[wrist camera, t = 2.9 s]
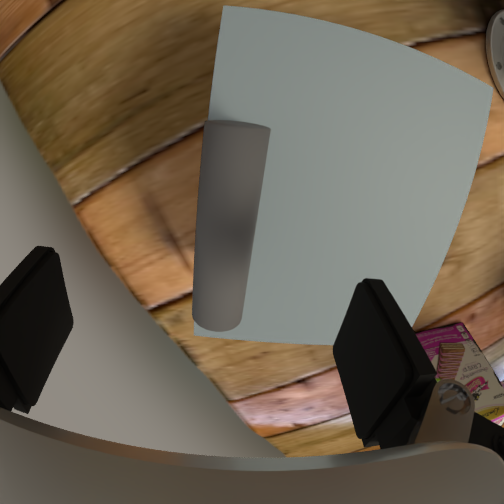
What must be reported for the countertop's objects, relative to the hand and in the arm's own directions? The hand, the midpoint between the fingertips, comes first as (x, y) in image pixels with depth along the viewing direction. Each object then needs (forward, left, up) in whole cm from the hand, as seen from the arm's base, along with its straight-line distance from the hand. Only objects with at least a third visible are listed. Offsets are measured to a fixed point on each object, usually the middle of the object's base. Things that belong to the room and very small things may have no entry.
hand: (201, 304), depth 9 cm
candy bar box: (+20, +29, -20) cm, 40 cm away
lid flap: (0, +7, -9) cm, 12 cm away
